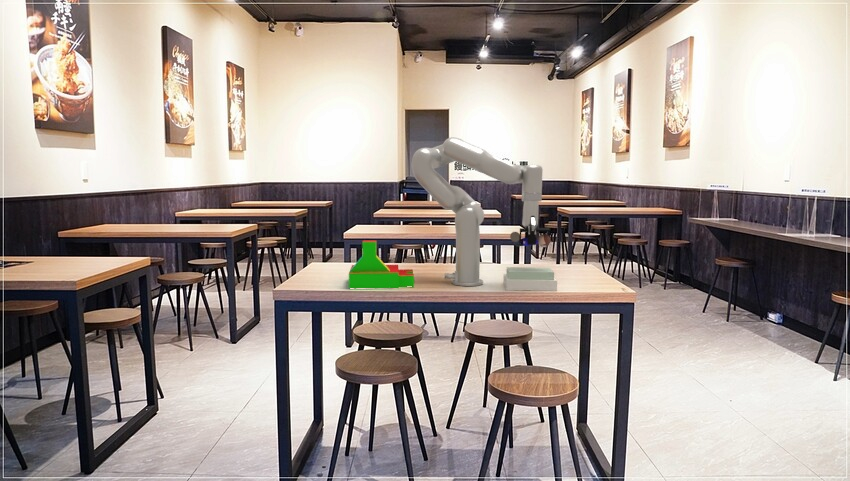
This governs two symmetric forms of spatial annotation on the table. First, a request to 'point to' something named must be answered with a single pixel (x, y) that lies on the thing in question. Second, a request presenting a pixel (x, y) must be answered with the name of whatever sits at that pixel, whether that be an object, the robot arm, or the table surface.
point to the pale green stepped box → (530, 279)
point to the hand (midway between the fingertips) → (530, 243)
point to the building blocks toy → (377, 271)
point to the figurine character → (542, 239)
